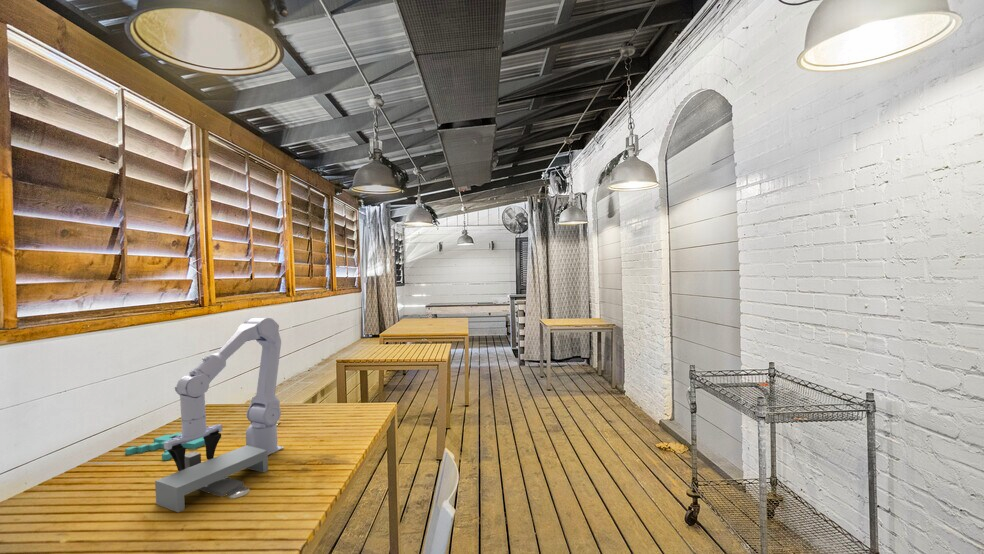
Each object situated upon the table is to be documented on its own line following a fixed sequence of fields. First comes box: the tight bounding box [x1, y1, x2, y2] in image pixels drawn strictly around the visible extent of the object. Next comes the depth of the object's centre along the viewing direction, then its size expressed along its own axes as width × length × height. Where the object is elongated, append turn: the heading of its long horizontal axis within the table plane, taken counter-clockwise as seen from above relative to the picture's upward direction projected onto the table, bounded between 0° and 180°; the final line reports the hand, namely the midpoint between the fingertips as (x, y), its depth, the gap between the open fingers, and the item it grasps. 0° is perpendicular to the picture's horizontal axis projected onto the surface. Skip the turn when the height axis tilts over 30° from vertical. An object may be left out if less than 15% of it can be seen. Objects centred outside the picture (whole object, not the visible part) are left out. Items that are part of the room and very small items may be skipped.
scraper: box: [185, 450, 245, 498], centre depth 118 cm, size 21×6×7 cm, turn 63°
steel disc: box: [226, 486, 250, 499], centre depth 112 cm, size 5×5×1 cm
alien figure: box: [124, 432, 205, 461], centre depth 148 cm, size 20×2×20 cm
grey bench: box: [154, 444, 269, 513], centre depth 117 cm, size 10×24×6 cm, turn 153°
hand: (196, 464), depth 121 cm, fingers open, 7 cm apart
